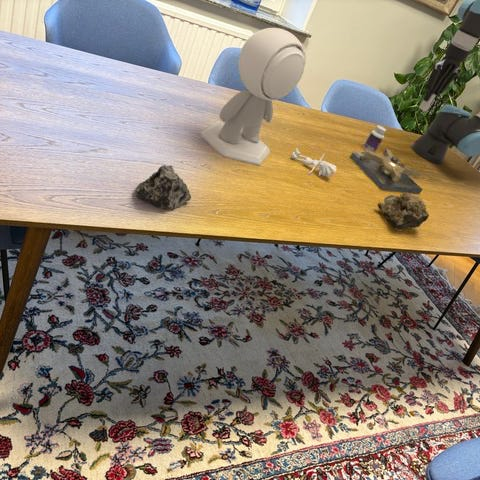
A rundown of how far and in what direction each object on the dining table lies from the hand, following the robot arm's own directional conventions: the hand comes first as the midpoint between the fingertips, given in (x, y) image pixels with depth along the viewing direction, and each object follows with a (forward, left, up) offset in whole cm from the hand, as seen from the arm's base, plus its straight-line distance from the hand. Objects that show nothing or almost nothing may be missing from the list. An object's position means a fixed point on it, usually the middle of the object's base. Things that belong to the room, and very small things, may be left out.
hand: (422, 109), depth 169 cm
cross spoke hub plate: (+16, +14, -22) cm, 30 cm away
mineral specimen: (+34, +40, -22) cm, 57 cm away
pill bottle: (+9, -5, -22) cm, 24 cm away
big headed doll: (+76, +7, -22) cm, 79 cm away
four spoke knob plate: (+16, +14, -19) cm, 28 cm away
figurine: (+51, +16, -22) cm, 58 cm away
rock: (+108, +37, -22) cm, 116 cm away
